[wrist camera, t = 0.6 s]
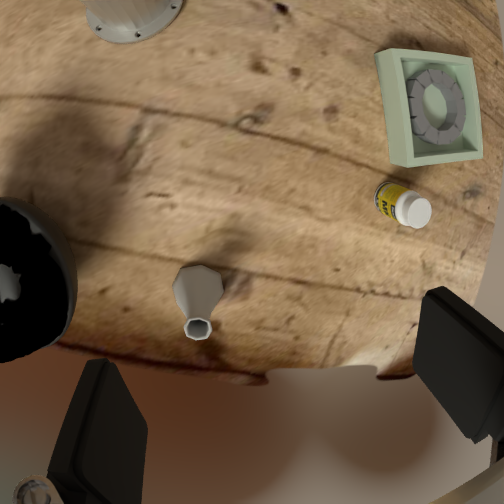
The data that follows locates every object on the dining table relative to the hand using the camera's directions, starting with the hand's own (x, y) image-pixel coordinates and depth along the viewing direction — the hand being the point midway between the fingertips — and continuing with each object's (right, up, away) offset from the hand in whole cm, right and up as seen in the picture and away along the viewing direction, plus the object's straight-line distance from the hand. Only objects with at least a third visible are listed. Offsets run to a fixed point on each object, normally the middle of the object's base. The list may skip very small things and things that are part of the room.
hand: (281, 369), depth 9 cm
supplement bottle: (+19, +11, +35) cm, 41 cm away
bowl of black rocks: (-32, +4, +30) cm, 44 cm away
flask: (-8, -2, +36) cm, 37 cm away
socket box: (+25, +25, +30) cm, 47 cm away
